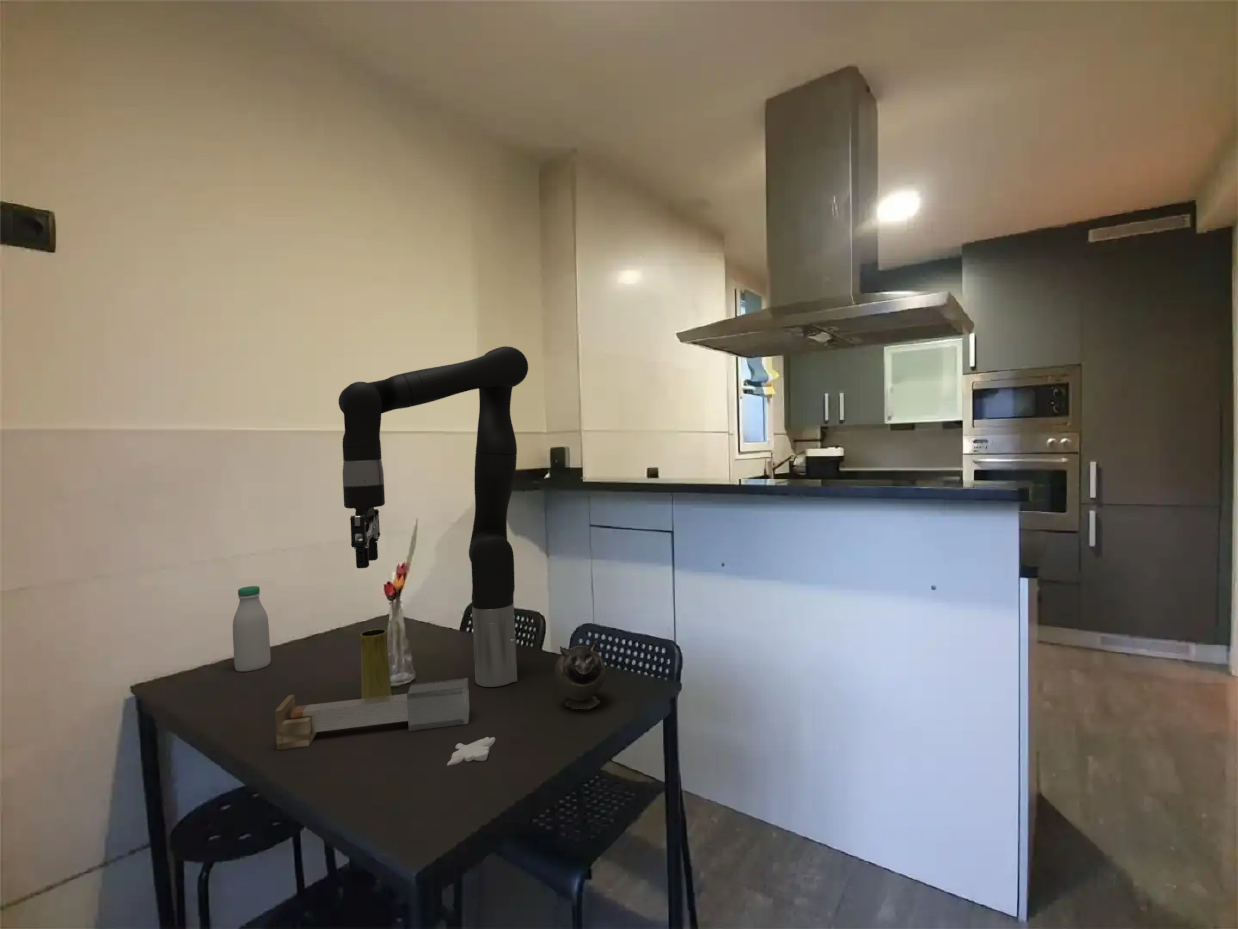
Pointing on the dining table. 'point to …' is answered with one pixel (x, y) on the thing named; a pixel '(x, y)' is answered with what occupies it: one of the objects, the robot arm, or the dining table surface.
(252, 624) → the milk bottle
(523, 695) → the dining table surface
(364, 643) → the vase
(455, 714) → the sleeve
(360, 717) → the white orange-tipped bar
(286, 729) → the socket
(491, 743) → the acanthus leaf ornament
